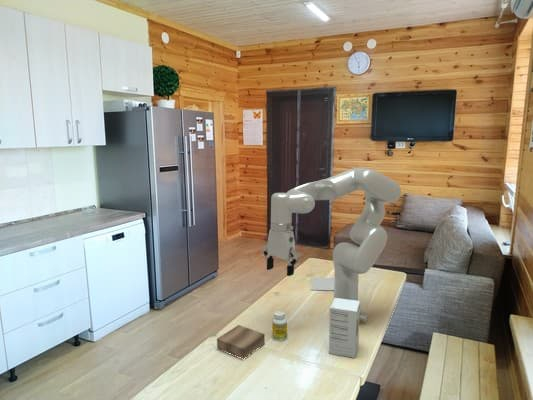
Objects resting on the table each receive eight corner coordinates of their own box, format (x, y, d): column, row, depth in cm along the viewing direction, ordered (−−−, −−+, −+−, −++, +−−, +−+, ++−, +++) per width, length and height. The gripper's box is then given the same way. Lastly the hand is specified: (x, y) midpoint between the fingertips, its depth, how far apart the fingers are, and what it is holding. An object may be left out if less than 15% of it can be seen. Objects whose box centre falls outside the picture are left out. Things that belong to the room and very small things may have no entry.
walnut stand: (264, 344, 138) (264, 333, 138) (244, 360, 129) (243, 349, 128) (238, 334, 145) (238, 324, 145) (217, 349, 136) (216, 338, 135)
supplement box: (355, 359, 129) (357, 312, 126) (328, 353, 132) (329, 307, 129) (359, 344, 138) (360, 300, 135) (333, 340, 141) (334, 296, 138)
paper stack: (356, 279, 200) (356, 278, 200) (363, 299, 176) (363, 298, 176) (311, 278, 203) (311, 277, 202) (311, 298, 178) (311, 296, 178)
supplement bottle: (284, 333, 146) (284, 308, 145) (288, 340, 141) (288, 315, 139) (270, 334, 145) (270, 310, 143) (274, 342, 140) (274, 317, 138)
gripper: (306, 229, 137) (304, 275, 139) (269, 221, 148) (269, 264, 150) (293, 232, 131) (292, 280, 134) (256, 224, 142) (256, 269, 145)
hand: (279, 272), depth 142 cm, fingers open, 9 cm apart
